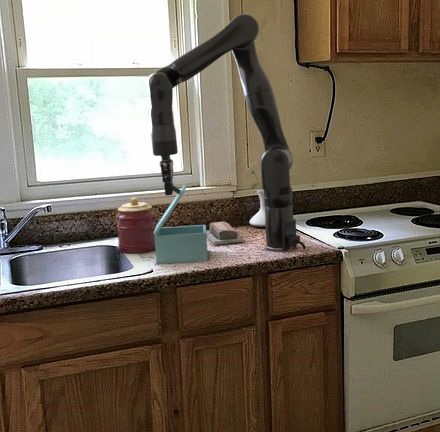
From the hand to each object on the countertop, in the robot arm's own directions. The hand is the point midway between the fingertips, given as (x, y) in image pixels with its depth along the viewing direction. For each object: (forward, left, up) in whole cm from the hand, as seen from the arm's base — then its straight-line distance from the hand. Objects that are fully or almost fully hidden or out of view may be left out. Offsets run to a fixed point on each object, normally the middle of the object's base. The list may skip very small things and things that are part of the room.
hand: (169, 193), depth 200 cm
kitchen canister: (+20, -2, -21) cm, 29 cm away
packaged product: (+4, -27, -21) cm, 34 cm away
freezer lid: (0, 0, -5) cm, 5 cm away
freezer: (-2, -2, -21) cm, 21 cm away
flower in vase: (+5, -50, -21) cm, 54 cm away
